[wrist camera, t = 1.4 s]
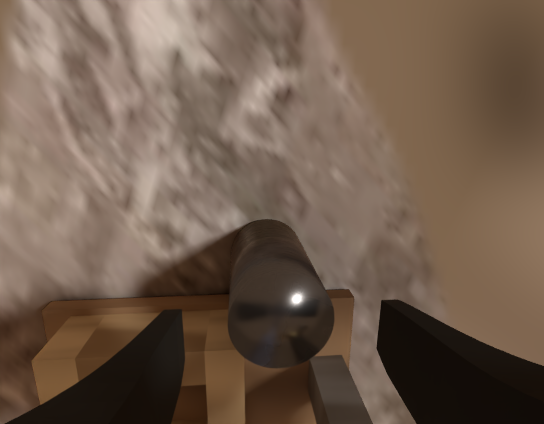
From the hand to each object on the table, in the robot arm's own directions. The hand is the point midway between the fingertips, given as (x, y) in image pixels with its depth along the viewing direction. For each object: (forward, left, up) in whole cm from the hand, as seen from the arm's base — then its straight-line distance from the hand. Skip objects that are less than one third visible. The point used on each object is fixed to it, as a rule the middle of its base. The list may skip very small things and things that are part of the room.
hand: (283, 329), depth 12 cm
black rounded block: (0, 0, -8) cm, 8 cm away
